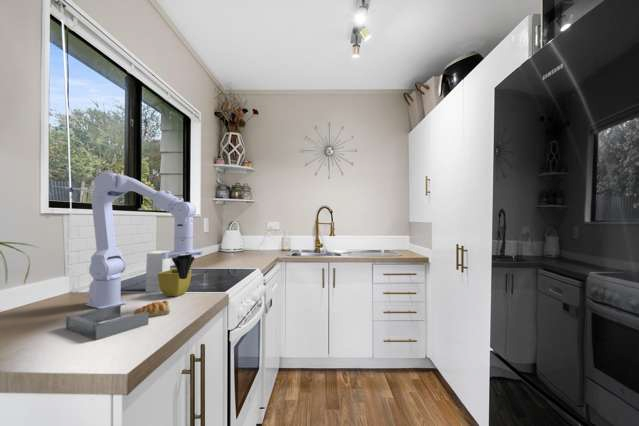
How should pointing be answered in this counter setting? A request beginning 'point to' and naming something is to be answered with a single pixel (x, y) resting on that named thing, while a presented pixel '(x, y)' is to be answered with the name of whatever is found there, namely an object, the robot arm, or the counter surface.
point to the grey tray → (92, 329)
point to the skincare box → (155, 270)
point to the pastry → (155, 309)
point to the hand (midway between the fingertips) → (183, 278)
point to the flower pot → (173, 283)
